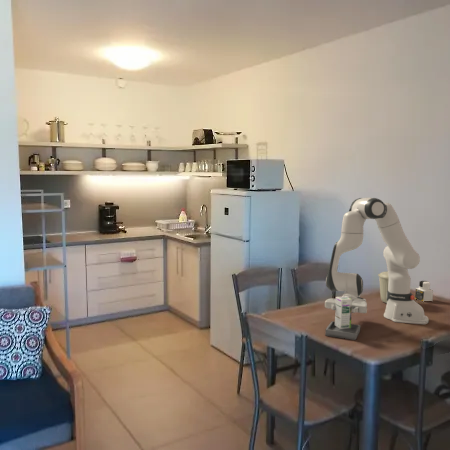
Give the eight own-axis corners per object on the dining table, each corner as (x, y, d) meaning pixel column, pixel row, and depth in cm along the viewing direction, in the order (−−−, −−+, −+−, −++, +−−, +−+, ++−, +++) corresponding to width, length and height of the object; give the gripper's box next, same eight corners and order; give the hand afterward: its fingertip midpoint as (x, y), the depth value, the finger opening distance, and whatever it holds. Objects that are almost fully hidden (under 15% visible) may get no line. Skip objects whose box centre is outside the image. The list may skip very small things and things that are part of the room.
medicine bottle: (414, 299, 288) (416, 280, 286) (424, 298, 290) (425, 279, 289) (423, 302, 281) (424, 283, 280) (432, 301, 283) (433, 282, 282)
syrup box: (340, 329, 220) (341, 299, 219) (334, 325, 226) (335, 296, 224) (351, 328, 222) (352, 298, 220) (344, 324, 227) (346, 295, 226)
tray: (360, 331, 228) (360, 325, 227) (355, 340, 215) (355, 333, 215) (331, 326, 234) (331, 321, 233) (325, 335, 221) (325, 329, 221)
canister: (383, 297, 292) (384, 264, 290) (412, 302, 281) (414, 268, 279) (372, 302, 279) (373, 268, 276) (402, 308, 267) (404, 272, 265)
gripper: (327, 294, 239) (321, 300, 226) (369, 299, 230) (365, 306, 218) (327, 306, 239) (321, 313, 227) (368, 311, 231) (364, 319, 218)
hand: (343, 309), depth 222 cm, fingers closed on syrup box, 8 cm apart
